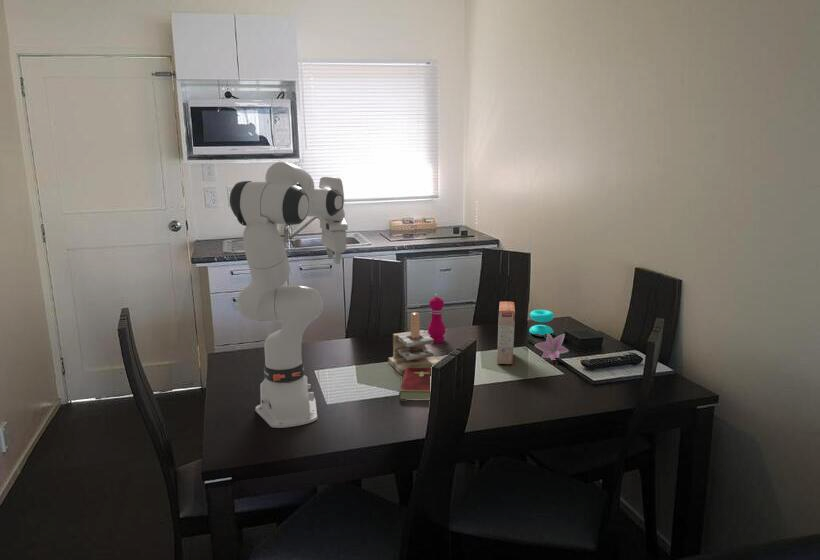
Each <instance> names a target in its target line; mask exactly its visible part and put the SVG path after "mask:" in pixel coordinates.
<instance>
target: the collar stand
mask: <svg viewBox="0 0 820 560" xmlns="http://www.w3.org/2000/svg"><path fill="white" fill-rule="evenodd" d="M429 336H430V335H429V334H427V333H426V331H425V330H423V329H420V339H416V340H411V331H406V332H405V331H404V332H397V333H392V348H393V349H392V350H393V352H392V354H393V355H392V356H391V357H388V362H387V363H389V365H390V366H392V368H394V370H396V372H398V373H399V374H400V375H401V376H404V374H405V370H406V367H423V368H431V367H432V365H434V364H435V363H436V362H438V361H440V360H439V359H438V358H436V357H435V356H434V355H435V354H434V353H435V352H433V350H431V349H430V348H428V347H427V346H426V345H432V344H435V343H434V339H432V338H431V337H429ZM419 345H420V352H417V353H411V347H412V346H419ZM414 359H420V361H419V362H412V361H411V360H414Z"/></svg>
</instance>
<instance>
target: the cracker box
mask: <svg viewBox="0 0 820 560" xmlns="http://www.w3.org/2000/svg"><path fill="white" fill-rule="evenodd" d="M498 308H499V309H498V323H497V327H498V328H497V329H498V330H497V357H496V358H497V361H496V362H497V365H498V364H512V365H514V363H513V362H514V361H513V360H514V359H513V358H514V344H515V343H514V342H515V322H516V321H515V319H516V317H515V316H516V309H515V302H514V301H499V307H498Z"/></svg>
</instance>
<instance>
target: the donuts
mask: <svg viewBox="0 0 820 560" xmlns="http://www.w3.org/2000/svg"><path fill="white" fill-rule="evenodd" d="M554 317H555V314H554V312H553V311H551V310H547V309H535V310H531V311H530V312H529V318H530V319H531V320H533V321H534V322H538V323H548V322H551V321H552V320H554ZM529 332H530V333H532V334H539V335H545V334H551V333H553V334H554V330H553V328H552V327H551V326H549V325H545V324H534V325H532V326H530V328H529ZM530 333H529V334H530Z"/></svg>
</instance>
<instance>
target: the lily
mask: <svg viewBox="0 0 820 560" xmlns="http://www.w3.org/2000/svg"><path fill="white" fill-rule="evenodd" d="M565 335H566V334H565V333H561V334H559V335H557V336H555V337H553V336H552V335H550V334H547V337H545V341H540V342H537V343H535V344H534V347H535V348H536V349H538V350H539V351H541V352H543V353H542V355H541V357H540V359H541V358H547V359H548V358H549V359H550V360H551V361H552V360H556V359H555V358H559V359H560V354H565V353H569V351H570V350H569V349H568V348H567V347H565V346H563V345H562V344H563V342H564V339H565Z"/></svg>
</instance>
